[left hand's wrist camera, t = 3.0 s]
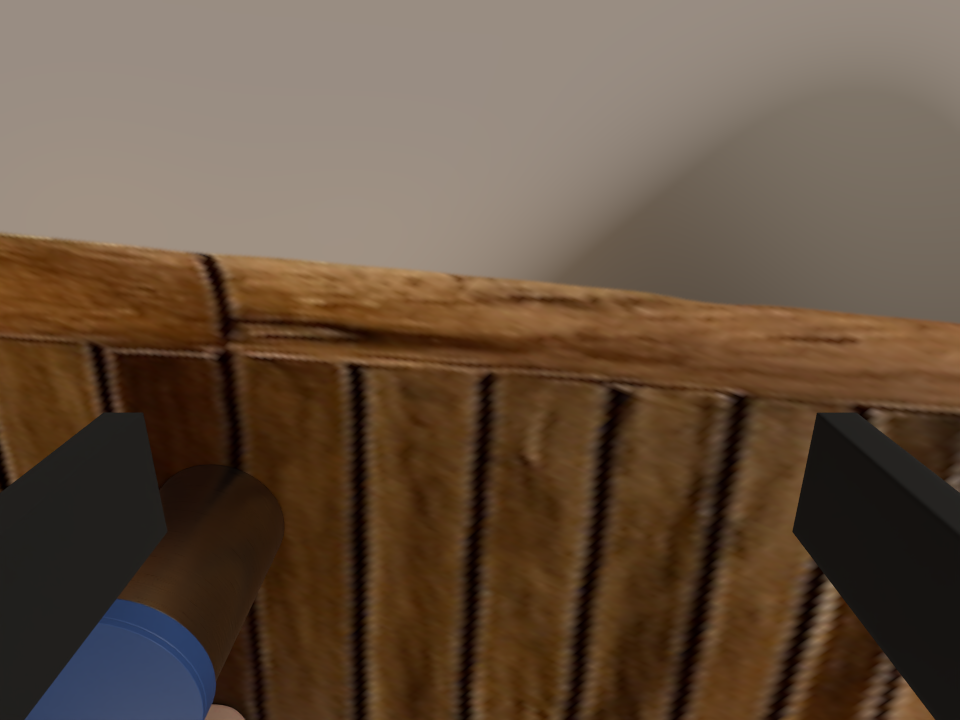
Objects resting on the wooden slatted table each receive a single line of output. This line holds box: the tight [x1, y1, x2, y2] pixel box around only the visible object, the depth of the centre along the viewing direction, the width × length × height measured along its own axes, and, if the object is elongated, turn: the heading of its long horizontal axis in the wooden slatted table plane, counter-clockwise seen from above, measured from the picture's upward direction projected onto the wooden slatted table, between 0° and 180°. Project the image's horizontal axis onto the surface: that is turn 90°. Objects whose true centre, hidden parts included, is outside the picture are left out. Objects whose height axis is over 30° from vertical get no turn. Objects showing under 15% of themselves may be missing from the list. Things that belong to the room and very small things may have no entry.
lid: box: [25, 599, 216, 720], centre depth 33 cm, size 10×10×2 cm
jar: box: [117, 465, 284, 680], centre depth 39 cm, size 9×9×15 cm
